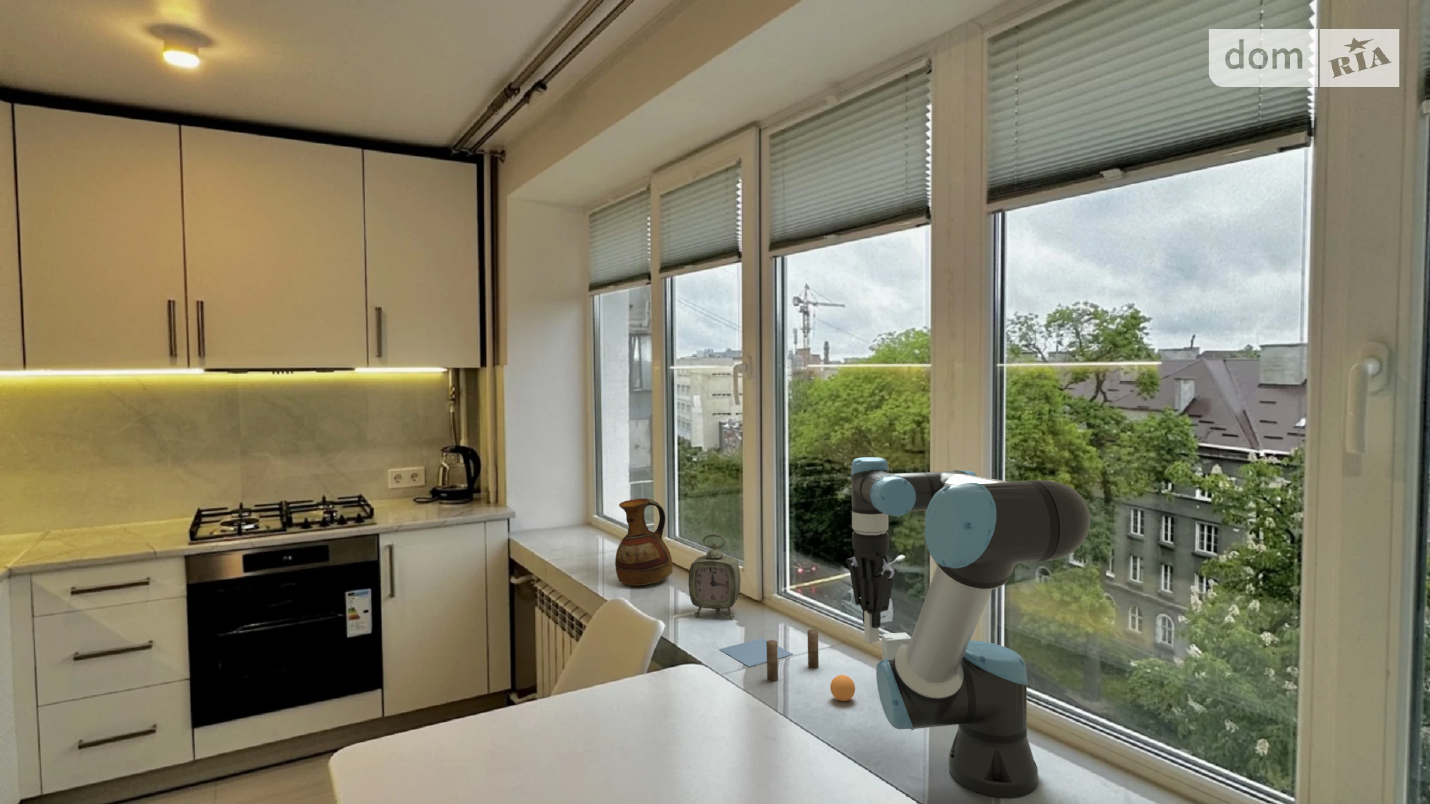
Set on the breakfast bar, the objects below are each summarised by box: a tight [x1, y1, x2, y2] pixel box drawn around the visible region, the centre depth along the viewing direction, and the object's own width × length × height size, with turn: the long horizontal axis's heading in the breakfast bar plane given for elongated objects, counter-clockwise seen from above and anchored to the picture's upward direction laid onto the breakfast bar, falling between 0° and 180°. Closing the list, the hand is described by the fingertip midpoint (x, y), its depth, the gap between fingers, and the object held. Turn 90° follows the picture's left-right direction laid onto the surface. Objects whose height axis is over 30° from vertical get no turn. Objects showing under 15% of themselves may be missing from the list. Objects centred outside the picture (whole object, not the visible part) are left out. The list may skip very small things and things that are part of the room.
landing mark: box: [718, 637, 794, 668], centre depth 193 cm, size 14×14×1 cm
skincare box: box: [881, 632, 912, 660], centre depth 170 cm, size 6×4×12 cm
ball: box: [829, 674, 856, 702], centre depth 164 cm, size 6×6×6 cm
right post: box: [807, 628, 820, 670], centre depth 183 cm, size 3×3×9 cm
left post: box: [766, 639, 779, 682], centre depth 176 cm, size 3×3×9 cm
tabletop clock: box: [688, 533, 742, 620], centre depth 223 cm, size 14×9×25 cm, turn 76°
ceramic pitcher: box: [614, 498, 673, 586], centre depth 260 cm, size 20×20×30 cm
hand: (871, 640), depth 156 cm, fingers closed
